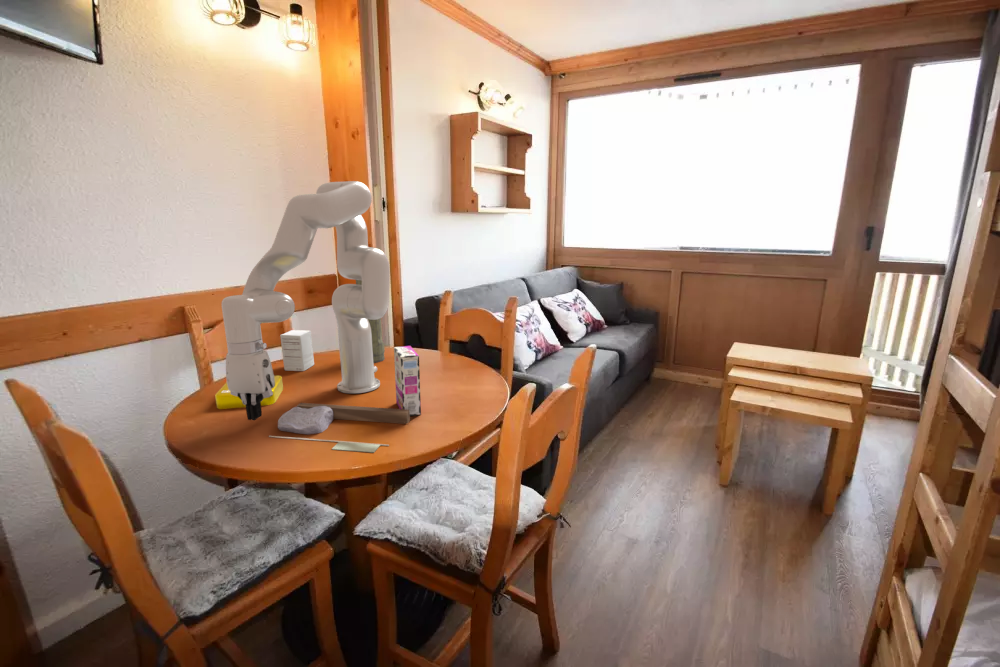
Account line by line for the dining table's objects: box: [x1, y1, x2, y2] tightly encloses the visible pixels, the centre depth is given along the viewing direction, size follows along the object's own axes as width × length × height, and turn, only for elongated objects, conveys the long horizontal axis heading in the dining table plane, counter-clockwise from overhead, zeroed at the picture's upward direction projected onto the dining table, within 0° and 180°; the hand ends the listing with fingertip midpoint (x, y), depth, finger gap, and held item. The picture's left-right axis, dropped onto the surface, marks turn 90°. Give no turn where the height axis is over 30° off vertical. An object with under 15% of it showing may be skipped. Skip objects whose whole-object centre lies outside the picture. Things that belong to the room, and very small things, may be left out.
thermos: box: [355, 280, 386, 364], centre depth 170 cm, size 9×12×35 cm
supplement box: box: [279, 329, 315, 372], centre depth 164 cm, size 7×7×13 cm
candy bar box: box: [393, 345, 422, 417], centre depth 128 cm, size 11×5×16 cm, turn 22°
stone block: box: [277, 406, 334, 435], centre depth 119 cm, size 12×5×10 cm
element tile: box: [214, 375, 284, 410], centre depth 138 cm, size 15×15×5 cm
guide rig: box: [268, 402, 411, 454], centre depth 116 cm, size 18×30×3 cm, turn 81°
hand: (254, 417), depth 119 cm, fingers closed
